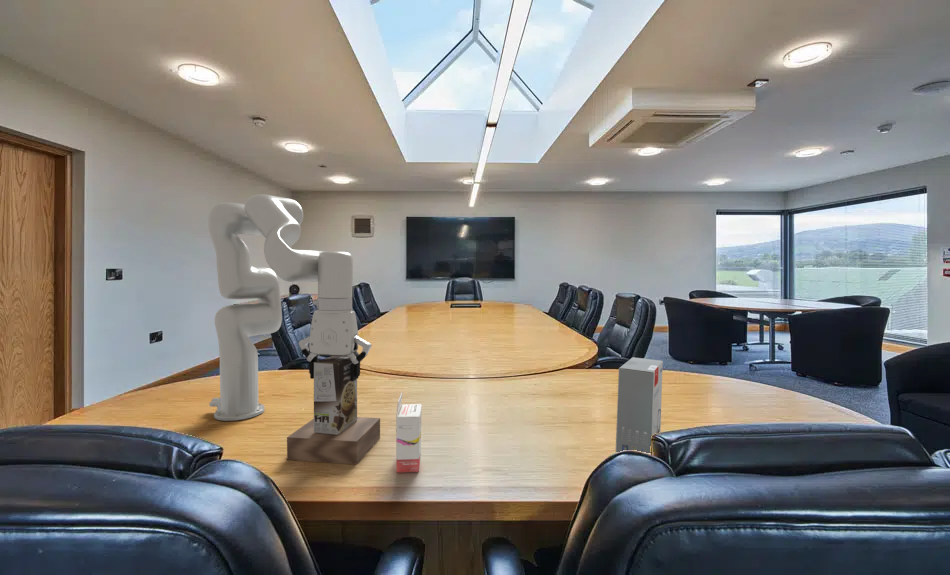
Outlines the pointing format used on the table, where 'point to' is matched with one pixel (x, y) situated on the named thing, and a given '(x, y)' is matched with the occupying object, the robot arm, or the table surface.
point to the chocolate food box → (334, 395)
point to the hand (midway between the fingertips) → (334, 378)
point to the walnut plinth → (334, 442)
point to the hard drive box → (638, 404)
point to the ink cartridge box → (408, 437)
